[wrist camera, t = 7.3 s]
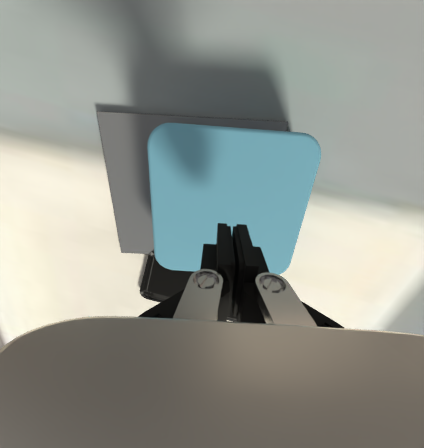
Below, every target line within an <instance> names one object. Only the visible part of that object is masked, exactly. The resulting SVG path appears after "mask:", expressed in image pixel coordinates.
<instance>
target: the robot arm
mask: <svg viewBox="0 0 424 448" xmlns="http://www.w3.org/2000/svg"><path fill="white" fill-rule="evenodd" d="M231 302H232V314H233V316H237V322H228V321H227V316H230V309H231ZM0 448H424V335H419V334H410V333H400V332H389V331H376V330H361V329H346V328H344V327H342V326H341V325H339V324H338V323H336V322H335V321H333V320H331V319H330V318H328V317H326V316H325V315H323V314H322V313H320V312H318V311H317V310H315V309H313V308H312V307H310V306H308V305H307V304H305V303H303V302H302V301H300V299H299V298H298V296H297V295H296V293H295V292H294V290H293V289H292V287H291V286H290V284H289V283H288V282H287V280H286V279H284V278H283V277H282V276H280V275H278V274H275V273H270V272H269V269H268V267H267V264H266V261H265V258H264V256H263V253H262V250H261V248H260V247H255V246H253V245H252V241H251V238H250V235H249V231H248V228H247V225H245V224H237V226H233V231H232V234H231V226H227V224H226V223H218V226H217V241H216V244H203V252H202V260H201V267H200V270H198V271H195V272H194V273H192V275H191V276H190V278H189V280H188V283H187V285H186V288H185V289H183V290H182V291H180V292H178V293H177V294H175V295H173V296H171V297H170V298H168V299H166V300H164V301H163V302H161V303H159V304H158V305H156V306H154V307H152V308H151V309H149V310H147V311H145V312H144V313H142V314H141V315H140V316H139V317H118V316H97V317H82V318H76V319H69V320H64V321H60V322H56V323H52V324H48V325H45V326H42V327H39V328H36V329H33V330H31V331H28V332H26V333H24V334H22V335H20V336H18V337H16V338H15V339H13V340H12V341H10V342H9V343H7V344H6V345H5V346H3V347H2V348H1V349H0Z"/></svg>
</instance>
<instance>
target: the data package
mask: <svg viewBox="0 0 424 448" xmlns="http://www.w3.org/2000/svg"><path fill="white" fill-rule="evenodd" d="M147 150H148V165H149V180H150V195H151V210H152V225H153V241H154V254H155V258H156V260H157V262H158V263H159V264H160V265H161V266H163V267H165V268H167V269H170V270H180V271H198V270H200V267H201V260H202V252H203V244H216V241H217V226H218V223H226V224H227V226H231V234H232V231H233V226H237V224H245V225H247V228H248V231H249V235H250V238H251V241H252V245H253V246H255V247H260V248H261V250H262V253H263V256H264V258H265V261H266V264H267V267H268V269H269V272H270V273H275V274H278V275H279V274H281V273H283V272H284V271H285V270H286V269H287V268H288V267H289V265H290V262H291V259H292V255H293V252H294V249H295V245H296V242H297V238H298V235H299V231H300V228H301V225H302V221H303V218H304V214H305V211H306V207H307V204H308V201H309V197H310V194H311V190H312V187H313V183H314V180H315V177H316V173H317V170H318V166H319V163H320V159H321V149H320V146H319V144H318V142H317V140H316V139H315V138H314V137H312V136H311V135H309V134H306V133H299V132H286V131H273V130H260V129H247V128H234V127H221V126H208V125H195V124H182V123H164V124H161V125H159V126H158V127H156V128H155V129H154V130H153V131H152V133H151V134H150V136H149V139H148V144H147Z"/></svg>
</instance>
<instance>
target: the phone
mask: <svg viewBox="0 0 424 448" xmlns="http://www.w3.org/2000/svg"><path fill="white" fill-rule="evenodd" d="M194 272H195V271H180V270H170V269H167V268H165V267H163V266H161V265H160V264H159V263H158V262H157V260H156V258H155V254H154V251H152V252H151V253H150V254H149V256H148V260H147V264H146V268H145V272H144V276H143V280H142V284H141V288H140V294H141V295H142V297H144V298H146V299H149V300H153V301H157V302H163V301H164V300H166V299H168V298H170V297H171V296H173V295H175V294H177V293H178V292H180V291H182V290H183V289H185V288H186V285H187V283H188V280H189V278H190V276H191V275H192V273H194ZM227 320H229V321H233V322H237V316H233V314H232V302H231V309H230V316H227Z"/></svg>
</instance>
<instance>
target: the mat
mask: <svg viewBox="0 0 424 448" xmlns="http://www.w3.org/2000/svg"><path fill="white" fill-rule="evenodd" d="M97 116H98V122H99V127H100V133H101V139H102V145H103V150H104V156H105V162H106V167H107V173H108V179H109V184H110V190H111V196H112V202H113V207H114V213H115V219H116V224H117V230H118V236H119V241H120V247H121V253H140V254H150V253H151V252H152V251H154V241H153V225H152V210H151V195H150V180H149V165H148V150H147V144H148V139H149V136H150V134H151V133H152V131H153V130H154V129H155V128H156V127H158V126H159V125H161V124H164V123H182V124H195V125H208V126H221V127H234V128H247V129H260V130H273V131H286V130H287V125H288V122H282V121H263V120H245V119H226V118H207V117H188V116H170V115H151V114H132V113H113V112H97Z"/></svg>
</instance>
